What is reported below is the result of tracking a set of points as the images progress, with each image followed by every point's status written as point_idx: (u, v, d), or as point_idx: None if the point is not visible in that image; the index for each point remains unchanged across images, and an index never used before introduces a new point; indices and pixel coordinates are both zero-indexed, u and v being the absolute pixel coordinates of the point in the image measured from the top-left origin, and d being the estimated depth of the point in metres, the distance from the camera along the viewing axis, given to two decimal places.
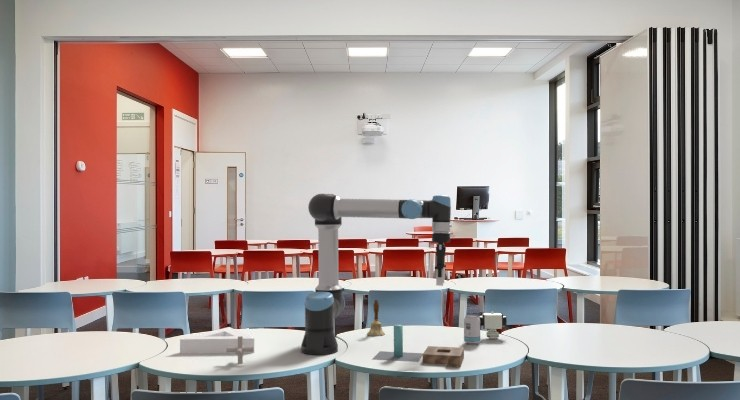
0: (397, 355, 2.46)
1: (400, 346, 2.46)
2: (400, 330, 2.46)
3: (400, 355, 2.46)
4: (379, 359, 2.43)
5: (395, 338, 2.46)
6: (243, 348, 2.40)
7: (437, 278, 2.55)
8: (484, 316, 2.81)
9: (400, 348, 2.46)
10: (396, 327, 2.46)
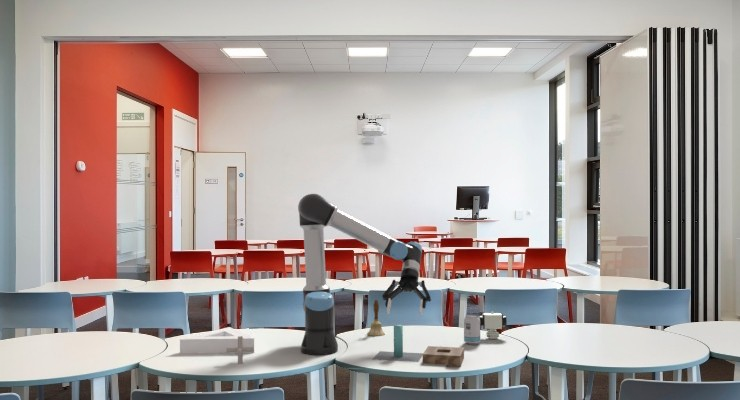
0: (397, 355, 2.46)
1: (400, 346, 2.46)
2: (400, 330, 2.46)
3: (400, 355, 2.46)
4: (379, 359, 2.43)
5: (395, 338, 2.46)
6: (243, 348, 2.40)
7: (422, 307, 2.58)
8: (484, 316, 2.81)
9: (400, 348, 2.46)
10: (396, 327, 2.46)
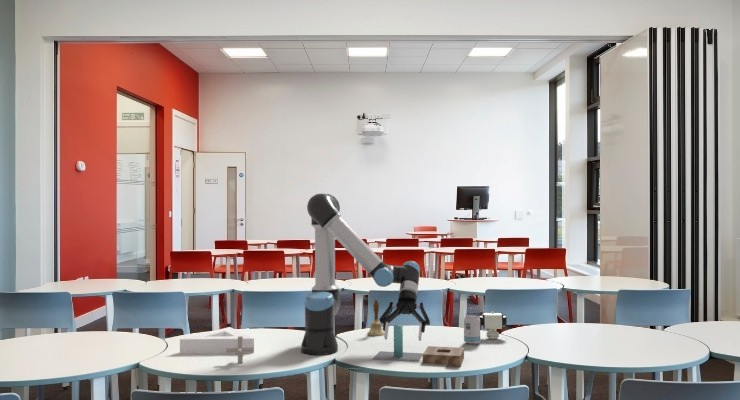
0: (397, 355, 2.46)
1: (400, 346, 2.46)
2: (400, 330, 2.46)
3: (400, 355, 2.46)
4: (379, 359, 2.43)
5: (395, 338, 2.46)
6: (243, 348, 2.40)
7: (421, 331, 2.48)
8: (484, 316, 2.81)
9: (400, 348, 2.46)
10: (396, 327, 2.46)
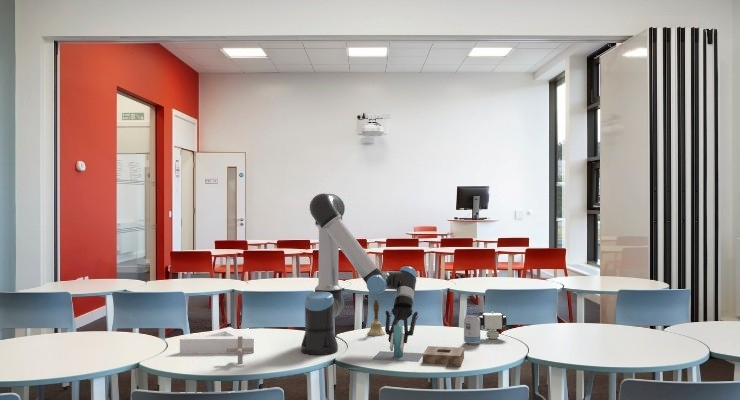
0: (397, 355, 2.46)
1: None
2: (400, 330, 2.46)
3: (400, 355, 2.46)
4: (379, 359, 2.43)
5: (395, 338, 2.46)
6: (243, 348, 2.40)
7: (403, 342, 2.45)
8: (484, 316, 2.81)
9: None
10: (396, 327, 2.46)
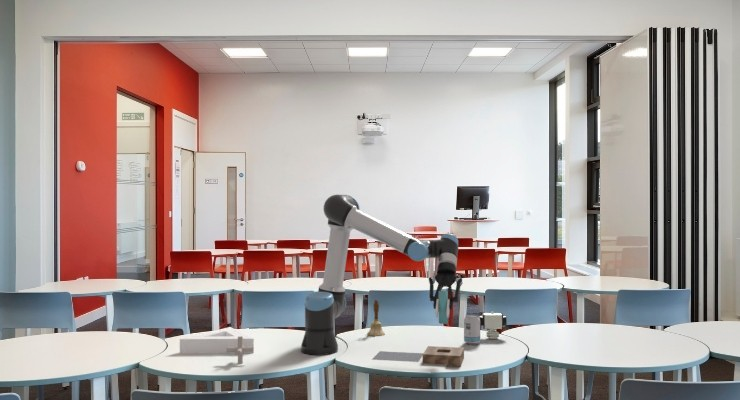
0: (442, 321, 2.40)
1: (445, 312, 2.40)
2: (445, 296, 2.40)
3: (445, 321, 2.40)
4: (379, 359, 2.43)
5: (440, 304, 2.40)
6: (243, 348, 2.40)
7: (448, 307, 2.39)
8: (484, 316, 2.81)
9: (445, 314, 2.40)
10: (441, 293, 2.40)
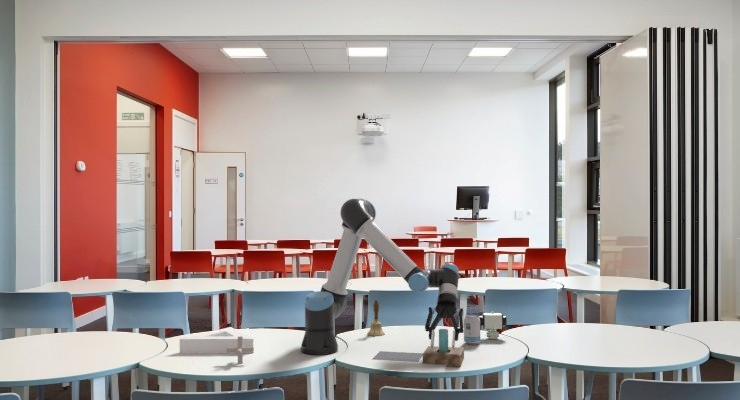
0: None
1: (446, 351, 2.40)
2: (446, 335, 2.40)
3: None
4: (379, 359, 2.43)
5: (440, 343, 2.40)
6: (243, 348, 2.40)
7: (454, 339, 2.38)
8: (484, 316, 2.81)
9: None
10: (442, 331, 2.40)
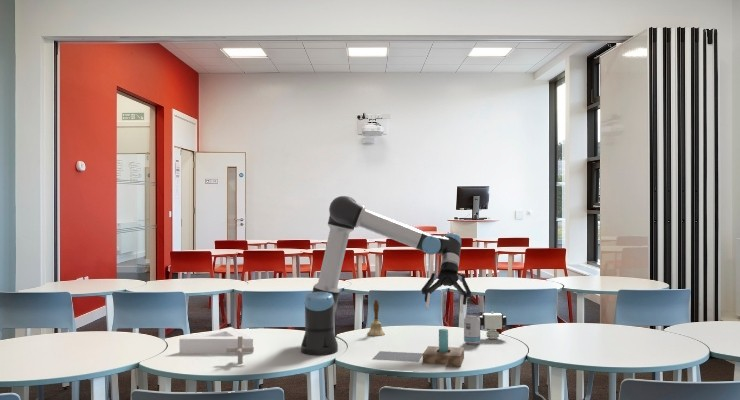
0: None
1: (446, 351, 2.40)
2: (446, 335, 2.40)
3: None
4: (379, 359, 2.43)
5: (440, 343, 2.40)
6: (243, 348, 2.40)
7: (462, 303, 2.52)
8: (484, 316, 2.81)
9: None
10: (441, 331, 2.40)
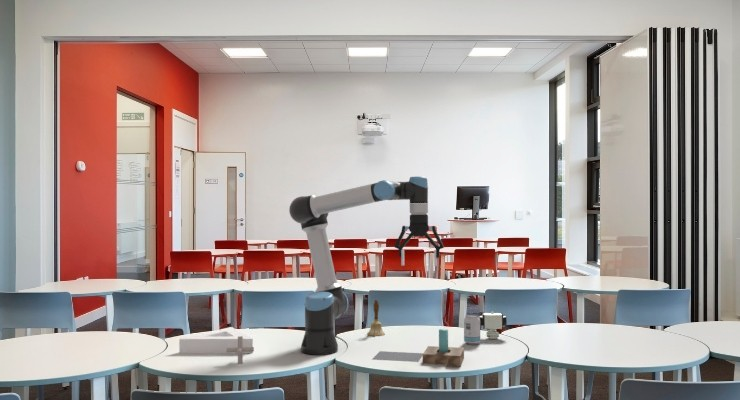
0: None
1: (446, 351, 2.40)
2: (446, 335, 2.40)
3: None
4: (379, 359, 2.43)
5: (440, 343, 2.40)
6: (243, 348, 2.40)
7: (436, 259, 2.59)
8: (484, 316, 2.81)
9: None
10: (442, 331, 2.40)
